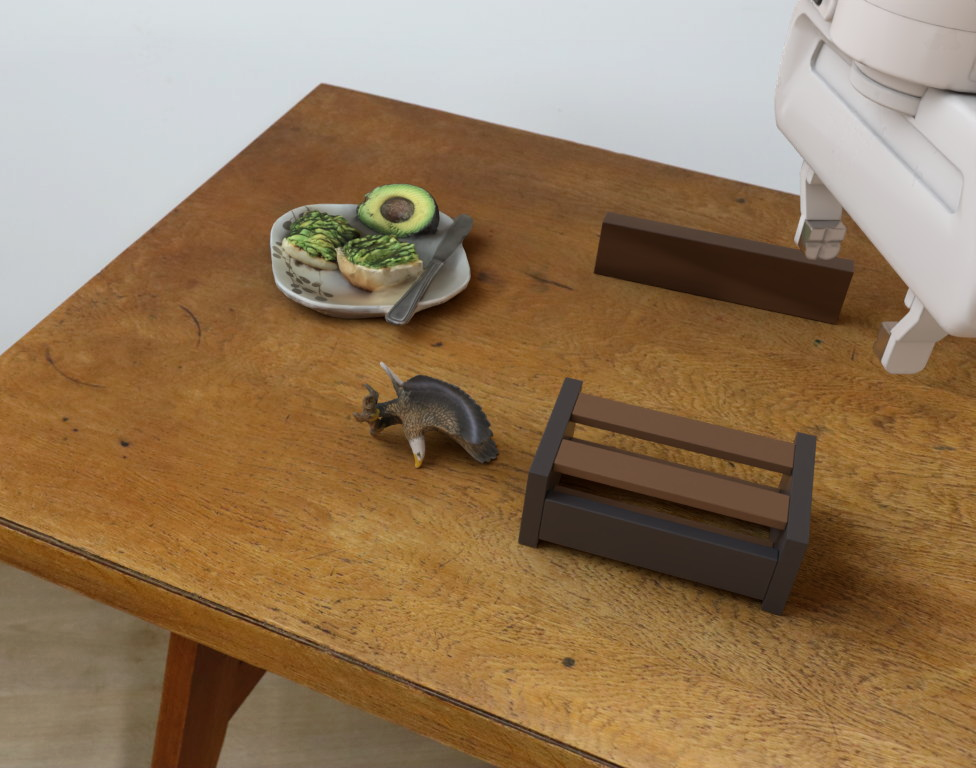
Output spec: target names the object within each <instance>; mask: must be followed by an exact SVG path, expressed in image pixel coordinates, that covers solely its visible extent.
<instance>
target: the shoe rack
mask: <svg viewBox="0 0 976 768" xmlns="http://www.w3.org/2000/svg"><path fill="white" fill-rule="evenodd" d="M583 385H584V381H583V380H581V379H576V378H572V377H568V376H565V377H564V380H563V382H562V385H561V387H560V389H559V393H558V395H557V397H556V400H555V402H554V405H553V409H552V410H551V413H550V415H549V418H548V421H547V423H546V425H545V428H544V431H543V433H542V436H541V438H540V441H539V444H538V446H537V449H536V451H535V454H534V456H533V459H532V462H531V465H530V466H529V470H528V472H527V480H526V485H525V486H526V487H525V493H524V499H523V506H522V512H521V520H520V525H519V531H518V538H517V543H518V544H520V545H524V546H527V547H531V548H535V549H537V547H538V545H539V542H540V540H542V541H545V542H548V543H552V544H555V545H560V546H562V547H567V548H570V549H573V550H578V551H582V552H585V553H587V554H592V555H596V556H599V557H603V558H607V559H610V560H614V561H618V562H622V563H625V564H629V565H633V566H636V567H640V568H642V569H643V568H644V569H647V570H651V571H654V572H657V573H662V574H665V575H668V576H673V577H676V578H680V579H683V580H686V581H687V580H688V581H691V582H694V583H698V584H702V585H706V586H709V587H712V588H716V589H720V590H723V591H727V592H731V593H735V594H737V595H741V596H745V597H749V598H753V599H757V600H760V601H761V605H760V610H761V611H763V612H766V613H770V614H773V615H778V616H782V615H783V612H784V610H785V608H786V605H787V602H788V599H789V597H790V594H791V592H792V590H793V587H794V583H795V582H796V579H797V576H798V573H799V571H800V568H801V565H802V563H803V560H804V557H805V555H806V552H807V550H808V546H809V541H810V530H811V515H812V504H813V490H814V479H815V467H816V465H815V464H816V453H817V439H818V436H816V435H813V434H809V433H804V432H801V431H797V432H796V433H795V437H794V440H793V442H789V441H785V440H782V439H776V438H773V437H769V436H764V435H760V434H756V433H751V432H748V431H743V430H740V429H736V428H735V429H734V428H730V427H726V426H724V425H718V424H714V423H711V422H707V421H701V420H697V419H693V418H688V417H685V416H680V415H676V414H672V413H668V412H664V411H659V410H656V409H652V408H647V407H643V406H639V405H635V404H632V403H631V404H630V403H625V402H621V401H619V400H614V399H610V398H605V397H601V396H597V395H592V394H589V393H585V392H582V391H583ZM576 424H579V425H582V426H586V427H590V428H595V429H599V430H603V431H606V432H611V433H615V434H619V435H623V436H627V437H632V438H634V439H640V440H644V441H646V442H647V441H648V442H651V443H655V444H659V445H664V446H667V447H672V448H676V449H680V450H684V451H688V452H692V453H696V454H701V455H705V456H707V457H708V456H709V457H712V458H716V459H720V460H723V461H724V460H725V461H728V462H733V463H736V464H740V465H744V466H749V467H752V468H757V469H761V470H765V471H769V472H773V473H777V474H781V478H780V482H779V484H778V487H774V486H770V485H765V484H762V483H757V482H755V481H751V480H746V479H742V478H739V477H734V476H729V475H726V474H723V473H722V474H721V473H718V472H714V471H709V470H705V469H702V468H698V467H693V466H689V465H686V464H682V463H677V462H673V461H669V460H666V459H662V458H658V457H654V456H650V455H646V454H642V453H638V452H633V451H630V450H626V449H622V448H617V447H613V446H610V445H606V444H601V443H598V442H594V441H590V440H587V439H581V438H578V437H574V435H575V428H576ZM563 474H564V475H568V476H571V477H576V478H579V479H584V480H587V481H591V482H595V483H598V484H603V485H606V486H609V487H613V488H617V489H621V490H626V491H628V492H629V491H630V492H633V493H636V494H637V493H638V494H641V495H644V496H648V497H653V498H657V499H660V500H664V501H668V502H672V503H676V504H680V505H683V506H688V507H692V508H695V509H699V510H702V511H707V512H711V513H714V514H717V515H718V514H719V515H722V516H726V517H729V518H734V519H738V520H741V521H745V522H749V523H753V524H757V525H762V526H764V527H769V530H770V531H769V539H764V538H762V537H761V538H760V537H757V536H753V535H749V534H746V533H742V532H737V531H734V530H731V529H726V528H722V527H719V526H714V525H711V524H707V523H704V522H700V521H696V520H692V519H688V518H684V517H680V516H676V515H672V514H668V513H665V512H660V511H657V510H654V509H649V508H645V507H642V506H638V505H634V504H631V503H627V502H623V501H620V500H615V499H610V498H607V497H603V496H600V495H596V494H592V493H588V492H584V491H581V490H577V489H574V488H573V489H572V488H569V487H565V486H561V485H560V482H561V479H562V476H563Z"/></svg>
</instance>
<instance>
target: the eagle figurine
mask: <svg viewBox="0 0 976 768" xmlns="http://www.w3.org/2000/svg"><path fill="white" fill-rule="evenodd" d="M379 365H380V367H381V368H382V370H383V371H384V372H385V374H386V375H387V376H388V377H389V378H390V380H391V383H392V387H393V389H394V391H395V393H396V396H397V398H393V399H390V400H388V401H383V402H379V398H380V394H379V391H377V390H376V389H374V387H372V386H371V385H370V384H369V383H366V382H363V383H362V384H363V387H364V388H365V389H366V390H367V391H368V394H366V395H365V396H364V397H363V398H362V412H360V413H359V412H357V411H353V412H352V417H353V418H354V420H355V421H356V422H357V423H365V422H366V423H367V424H368V425H369V435H370V436H377V435H378V434H380V433H381V432H383V431H384V430H385V429H387V428H389V427H392V426H396V425H402V430H403V433H404V436H405V438H406V440H407V441H408V444H409V446H410V448H411V451H412V454H413V456H414V462H415V463H414V468H416V469H418V468H420V467H421V466H422V464H423V460H424V458H425V455H426V441H425V436H426V435H425V433H427V432H438V433H441V434H443V435H444V436H446V437H448V438H449V439H451V440H453V441H454V442H455V443H456V444H459V445H460V446H461V447H462V448H463V449H464V450H465V451H466V452H467V453H468V454H469V455H470V457H472V458H473V459H474V460H475V461H476V462H478V463H480V464H484V462H486V463H490V462H491V461H492V460H495V459H497V458H498V456H497V455H498V454H499V453H500V452H499V449H498V448H497V447H496V446H497V443H496V441H494V439H492V438H493V437H494V432H493V430H492V429H491V428H490V427H491V426H492V423H491V422H490V420H489V419H488V416H487V414H486V413H485V412H484V411H483V407H482V406H481V405H480V404H478V403H477V401H476V400H475V399H474V398H473V397H471V395H470V394H469V393H467V392H466V390H464V389H461V387H460V386H457V385H455V384H454V383H451V382H450V383H449V382H448V381H444V380H443V379H440V378H436V377H433V376H428V375H425V374H419V373H418V374H416V375H414V376H412V377H410V378H408V379H406V381H403V380H402V379H401V378H400V377H399V376H398V375H397V374H396V373H395V372H394V371H393V370H392V369H391V368H390V367H389V366H388V365H387V364H386V363H385V362H383V361H380V363H379Z"/></svg>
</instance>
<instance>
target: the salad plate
mask: <svg viewBox="0 0 976 768" xmlns="http://www.w3.org/2000/svg"><path fill="white" fill-rule="evenodd" d="M363 197H364V200H363V201H361V202H359V203H358V204H354V203H315V204H305V205H302V206H299V207H295V208H293V209H291V210H288V211H287V212H286V213H284V214H282V215H281V216H280V217H277V219H276V220H275V221H274V223H273V224H272V227H271V230H270V234H269V240H268V241H269V245H268V247H269V250H270V258H271V259H270V260H271V268H272V274H273V278H274V282H275V285H276V287H277V288H278V290H279V291H280V292H282V293H283V294H284V295H285V296H286V297H287V298H288V299H290V300H291V301H294V302H295V303H297V304H299V305H301V306H304V307H306V308H308V309H311V310H314V311H315V312H317V313H320V314H322V315H325V316H327V317H332V318H337V319H348V320H349V319H350V320H353V319H354V320H355V319H370V318H385V321H386V322H387V323H389V324H390V325H393V326H397V327H398V326H404V325H407V324H408V323H409V322H410V321H411V320H412V318H413V317H414V315H415V314H416V313H418V312H421V311H423V310H426V309H429V308H432V307H435V306H439V305H442V304H444V303H446V302H448V301H450V300H451V299H454V297H456V296H457V295H459V294H460V293H462V292H463V291H465V290H466V289H467V288H468V285H469V282H470V280H471V267H470V264H469V261H468V260H469V259H468V257H467V253H466V251H465V249H464V246H463V241H464V240H465V239H466V238H467V237H468V235H469V234H470V232H471V230H472V227H473V224H474V219H473V217H471V216H470V215H468V214H467V213H460V214H459V215H457V216H455V217H452V216H449V215H448V214H445V213H444V212H443V211H440V209H439V205H438V203H437V201H436V199H435V197H434V195H432V194H431V193H430V192H429V191H428V190H426V189H425V188H423V187H422V186H418V185H415V184H410V183H387V184H382V185H380V186H376V187H374V188H373V189H372V190H371V191H370V192H367V193H364V196H363Z"/></svg>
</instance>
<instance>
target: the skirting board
mask: <svg viewBox="0 0 976 768" xmlns="http://www.w3.org/2000/svg"><path fill="white" fill-rule="evenodd" d="M593 273H594V274H598V275H602V276H607V277H612V278H615V279H620V280H624V281H625V280H626V281H629V282H634V283H640V284H644V285H649V286H654V287H659V288H662V289H668V290H672V291H676V292H677V291H678V292H681V293H687V294H691V295H696V296H701V297H705V298H710V299H713V300H714V299H715V300H720V301H724V302H728V303H734V304H738V305H742V306H747V307H751V308H757V309H761V310H765V311H771V312H776V313H780V314H784V315H789V316H794V317H798V318H803V319H808V320H813V321H818V322H823V323H828V324H833V325H836V324H837V323H838V321H839V317H840V314H841V311H842V309H843V306H844V303H845V299H846V297H847V293H848V291H849V289H850V285H851V282H852V280H853V277H854V274H855V260H853V259H850V258H844V257H839V256H836V257H834V258H833V259H831V260H823V259H819V258H818V259H816V260H810V259H808V258H806V257H805V255H804V254H803V252H802V251H801V250H800V248H793V247H788V246H783V245H778V244H773V243H768V242H764V241H758V240H753V239H748V238H743V237H739V236H738V237H737V236H733V235H728V234H723V233H717V232H714V231H713V232H711V231H709V230H708V231H707V230H702V229H697V228H693V227H688V226H683V225H677V224H672V223H667V222H662V221H657V220H652V219H648V218H642V217H637V216H632V215H627V214H622V213H617V212H612V211H606V212H605V215H604V218H603V220H602V222H601V228H600V235H599V240H598V246H597V251H596V256H595V263H594V268H593Z"/></svg>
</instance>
